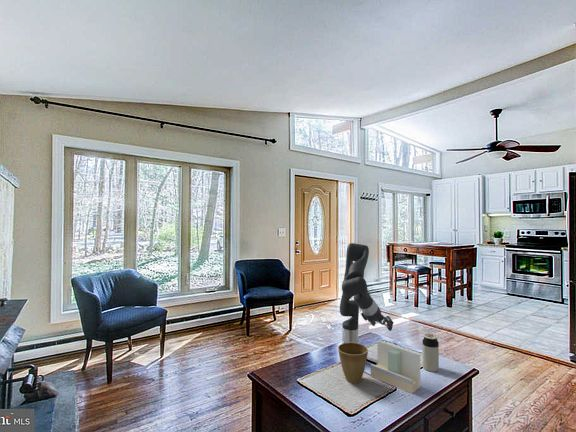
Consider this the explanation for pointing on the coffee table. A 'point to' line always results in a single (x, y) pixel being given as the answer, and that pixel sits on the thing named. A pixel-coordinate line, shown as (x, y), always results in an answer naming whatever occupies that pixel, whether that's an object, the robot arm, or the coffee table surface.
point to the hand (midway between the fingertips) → (382, 326)
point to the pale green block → (394, 361)
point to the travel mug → (430, 352)
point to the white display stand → (409, 368)
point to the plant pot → (353, 360)
